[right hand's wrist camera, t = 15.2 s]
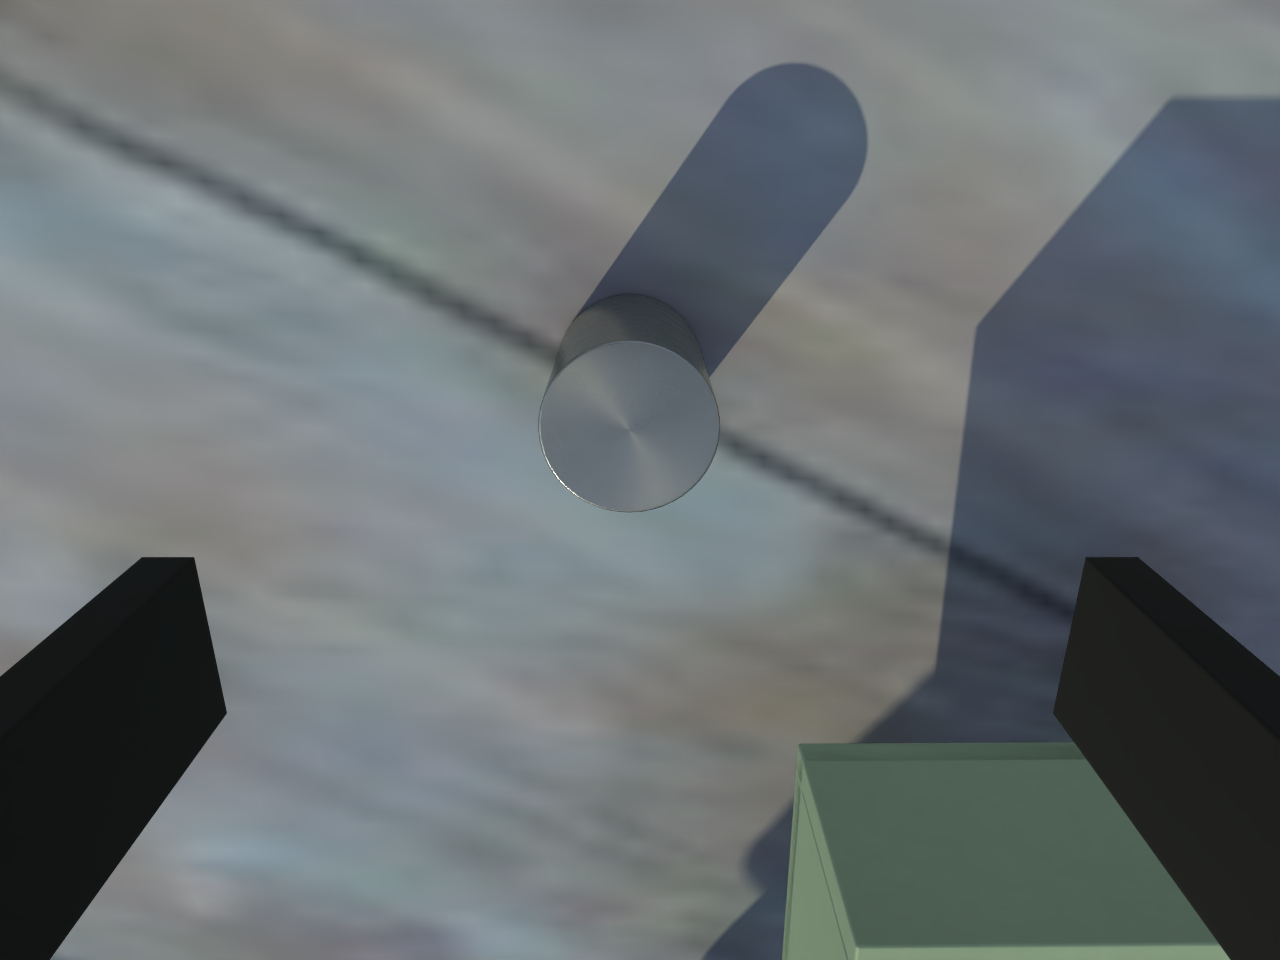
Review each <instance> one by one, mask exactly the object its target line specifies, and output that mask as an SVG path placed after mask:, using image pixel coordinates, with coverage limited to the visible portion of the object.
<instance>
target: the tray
mask: <svg viewBox="0 0 1280 960" xmlns="http://www.w3.org/2000/svg"><path fill="white" fill-rule="evenodd" d="M782 960H1230V959H1229V957H1228V956H1227V954H1226V953H1225V952H1224V950H1223V949H1222V947H1221V946H1220V945H1219V943H1218V942H1217V940H1216V939H1215V938H1214V936H1213V935H1212V933H1211V932H1210V931H1209V929H1208V928H1207V927H1206V925H1205V924H1204V922H1203V921H1202V920H1201V918H1200V917H1199V915H1198V914H1197V913H1196V911H1195V910H1194V908H1193V907H1192V906H1191V904H1190V903H1189V901H1188V900H1187V899H1186V897H1185V896H1184V895H1183V893H1182V892H1181V890H1180V889H1179V888H1178V886H1177V885H1176V883H1175V882H1174V881H1173V879H1172V878H1171V876H1170V875H1169V874H1168V872H1167V871H1166V869H1165V868H1164V867H1163V865H1162V864H1161V863H1160V861H1159V860H1158V858H1157V857H1156V856H1155V854H1154V853H1153V851H1152V850H1151V849H1150V847H1149V846H1148V844H1147V843H1146V842H1145V840H1144V839H1143V837H1142V836H1141V835H1140V833H1139V832H1138V831H1137V829H1136V828H1135V826H1134V825H1133V824H1132V822H1131V821H1130V819H1129V818H1128V817H1127V815H1126V814H1125V812H1124V811H1123V810H1122V808H1121V807H1120V805H1119V804H1118V803H1117V801H1116V800H1115V799H1114V797H1113V796H1112V794H1111V793H1110V792H1109V790H1108V789H1107V787H1106V786H1105V785H1104V783H1103V782H1102V780H1101V779H1100V778H1099V776H1098V775H1097V773H1096V772H1095V771H1094V769H1093V768H1092V767H1091V765H1090V764H1089V762H1088V761H1087V760H1086V758H1085V757H1084V755H1083V754H1082V753H1081V751H1080V750H1079V748H1078V747H1077V746H1076V744H1075V743H1074V742H1022V743H851V744H799V745H798V754H797V767H796V780H795V794H794V807H793V820H792V834H791V847H790V860H789V873H788V887H787V900H786V913H785V927H784V940H783V953H782Z"/></svg>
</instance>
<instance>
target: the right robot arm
mask: <svg viewBox="0 0 1280 960" xmlns="http://www.w3.org/2000/svg"><path fill="white" fill-rule="evenodd" d="M226 714H227V711H226V707H225V702H224V697H223V692H222V688H221V683H220V678H219V673H218V669H217V664H216V659H215V654H214V650H213V645H212V640H211V635H210V631H209V626H208V621H207V616H206V612H205V607H204V602H203V597H202V592H201V588H200V583H199V578H198V573H197V569H196V564H195V559H194V557H142V558H141V559H140V560H138V561H137V562H136V563H135V564H134V565H132V566H131V567H130V568H129V569H128V570H126V571H125V572H124V573H123V574H122V575H121V576H119V577H118V578H117V579H116V580H115V581H113V582H112V583H111V584H110V585H109V586H107V587H106V588H105V589H104V590H103V591H101V592H100V593H99V594H98V595H97V596H96V597H94V598H93V599H92V600H91V601H90V602H88V603H87V604H86V605H85V606H84V607H82V608H81V609H80V610H79V611H78V612H77V613H75V614H74V615H73V616H72V617H71V618H69V619H68V620H67V621H66V622H65V623H63V624H62V625H61V626H60V627H59V628H58V629H56V630H55V631H54V632H53V633H52V634H50V635H49V636H48V637H47V638H46V639H44V640H43V641H42V642H41V643H40V644H39V645H37V646H36V647H35V648H34V649H33V650H31V651H30V652H29V653H28V654H27V655H25V656H24V657H23V658H22V659H21V660H20V661H18V662H17V663H16V664H15V665H14V666H12V667H11V668H10V669H9V670H8V671H6V672H5V673H4V674H3V675H2V676H1V677H0V960H50V959H51V957H52V956H53V954H54V953H55V952H56V950H57V949H58V947H59V946H60V945H61V943H62V942H63V940H64V939H65V938H66V936H67V935H68V933H69V932H70V931H71V929H72V928H73V927H74V925H75V924H76V922H77V921H78V920H79V918H80V917H81V915H82V914H83V913H84V911H85V910H86V908H87V907H88V906H89V904H90V903H91V901H92V900H93V899H94V897H95V896H96V895H97V893H98V892H99V890H100V889H101V888H102V886H103V885H104V883H105V882H106V881H107V879H108V878H109V876H110V875H111V874H112V872H113V871H114V869H115V868H116V867H117V865H118V864H119V863H120V861H121V860H122V858H123V857H124V856H125V854H126V853H127V851H128V850H129V849H130V847H131V846H132V844H133V843H134V842H135V840H136V839H137V837H138V836H139V835H140V833H141V832H142V831H143V829H144V828H145V826H146V825H147V824H148V822H149V821H150V819H151V818H152V817H153V815H154V814H155V812H156V811H157V810H158V808H159V807H160V805H161V804H162V803H163V801H164V800H165V799H166V797H167V796H168V794H169V793H170V792H171V790H172V789H173V787H174V786H175V785H176V783H177V782H178V780H179V779H180V778H181V776H182V775H183V773H184V772H185V771H186V769H187V768H188V767H189V765H190V764H191V762H192V761H193V760H194V758H195V757H196V755H197V754H198V753H199V751H200V750H201V748H202V747H203V746H204V744H205V743H206V741H207V740H208V739H209V737H210V736H211V735H212V733H213V732H214V730H215V729H216V728H217V726H218V725H219V723H220V722H221V721H222V719H223V718H224V716H225V715H226ZM1053 714H1054V715H1055V716H1056V718H1057V719H1058V721H1059V722H1060V723H1061V725H1062V726H1063V728H1064V729H1065V730H1066V732H1067V733H1068V735H1069V736H1070V737H1071V739H1072V740H1073V741H1074V743H1075V744H1076V746H1077V747H1078V748H1079V750H1080V751H1081V753H1082V754H1083V755H1084V757H1085V758H1086V760H1087V761H1088V762H1089V764H1090V765H1091V767H1092V768H1093V769H1094V771H1095V772H1096V773H1097V775H1098V776H1099V778H1100V779H1101V780H1102V782H1103V783H1104V785H1105V786H1106V787H1107V789H1108V790H1109V792H1110V793H1111V794H1112V796H1113V797H1114V799H1115V800H1116V801H1117V803H1118V804H1119V805H1120V807H1121V808H1122V810H1123V811H1124V812H1125V814H1126V815H1127V817H1128V818H1129V819H1130V821H1131V822H1132V824H1133V825H1134V826H1135V828H1136V829H1137V831H1138V832H1139V833H1140V835H1141V836H1142V837H1143V839H1144V840H1145V842H1146V843H1147V844H1148V846H1149V847H1150V849H1151V850H1152V851H1153V853H1154V854H1155V856H1156V857H1157V858H1158V860H1159V861H1160V863H1161V864H1162V865H1163V867H1164V868H1165V869H1166V871H1167V872H1168V874H1169V875H1170V876H1171V878H1172V879H1173V881H1174V882H1175V883H1176V885H1177V886H1178V888H1179V889H1180V890H1181V892H1182V893H1183V895H1184V896H1185V897H1186V899H1187V900H1188V901H1189V903H1190V904H1191V906H1192V907H1193V908H1194V910H1195V911H1196V913H1197V914H1198V915H1199V917H1200V918H1201V920H1202V921H1203V922H1204V924H1205V925H1206V927H1207V928H1208V929H1209V931H1210V932H1211V933H1212V935H1213V936H1214V938H1215V939H1216V940H1217V942H1218V943H1219V945H1220V946H1221V947H1222V949H1223V950H1224V952H1225V953H1226V954H1227V956H1228V957H1229V959H1230V960H1280V677H1279V676H1278V675H1277V674H1276V673H1275V672H1274V671H1272V670H1271V669H1270V668H1269V667H1268V666H1266V665H1265V664H1264V663H1263V662H1262V661H1260V660H1259V659H1258V658H1257V657H1256V656H1255V655H1253V654H1252V653H1251V652H1250V651H1249V650H1247V649H1246V648H1245V647H1244V646H1243V645H1241V644H1240V643H1239V642H1238V641H1237V640H1236V639H1234V638H1233V637H1232V636H1231V635H1230V634H1228V633H1227V632H1226V631H1225V630H1224V629H1222V628H1221V627H1220V626H1219V625H1218V624H1217V623H1215V622H1214V621H1213V620H1212V619H1211V618H1209V617H1208V616H1207V615H1206V614H1205V613H1203V612H1202V611H1201V610H1200V609H1199V608H1198V607H1196V606H1195V605H1194V604H1193V603H1192V602H1190V601H1189V600H1188V599H1187V598H1186V597H1184V596H1183V595H1182V594H1181V593H1180V592H1179V591H1177V590H1176V589H1175V588H1174V587H1173V586H1171V585H1170V584H1169V583H1168V582H1167V581H1165V580H1164V579H1163V578H1162V577H1161V576H1159V575H1158V574H1157V573H1156V572H1155V571H1154V570H1152V569H1151V568H1150V567H1149V566H1148V565H1146V564H1145V563H1144V562H1143V561H1142V560H1140V559H1139V558H1138V557H1086V559H1085V564H1084V569H1083V573H1082V578H1081V583H1080V588H1079V592H1078V597H1077V602H1076V607H1075V612H1074V616H1073V621H1072V626H1071V631H1070V635H1069V640H1068V645H1067V650H1066V654H1065V659H1064V664H1063V669H1062V673H1061V678H1060V683H1059V688H1058V692H1057V697H1056V702H1055V707H1054V711H1053Z"/></svg>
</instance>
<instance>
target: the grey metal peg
mask: <svg viewBox="0 0 1280 960" xmlns="http://www.w3.org/2000/svg"><path fill="white" fill-rule="evenodd" d="M538 431H539V439H540V444H541V448H542V452H543V454H544V457H545V459H546V462H547V463H548V465H549V467H550V469H551V470H552V472H553V473H554V475H555V476H556V477H557V479H558V480H559V481H560V482H561V483H562V484H563V485H564V486H565V487H566V488H567V489H568V490H569V491H570V492H572V493H573V494H574V495H576V496H577V497H579V498H580V499H582V500H584V501H585V502H588V503H590V504H592V505H594V506H597V507H600V508H603V509H607V510H612V511H617V512H641V511H647V510H652V509H655V508H659V507H662V506H664V505H667V504H669V503H671V502H673V501H675V500H677V499H678V498H680V497H682V496H683V495H684V494H686V493H687V492H688V491H689V490H691V489H692V488H693V487H694V486H695V485H696V484H697V483H698V482H699V481H700V479H701V478H702V477H703V475H704V474H705V473H706V471H707V470H708V468H709V466H710V464H711V463H712V460H713V458H714V455H715V453H716V450H717V446H718V442H719V434H720V417H719V411H718V406H717V403H716V400H715V396H714V393H713V390H712V386H711V383H710V380H709V376H708V373H707V370H706V367H705V363H704V360H703V357H702V353H701V350H700V347H699V344H698V341H697V338H696V336H695V334H694V332H693V330H692V329H691V327H690V325H689V324H688V323H687V321H686V320H685V319H684V318H683V317H682V316H681V315H680V314H679V313H678V312H677V311H676V310H674V309H673V308H671V307H670V306H668V305H667V304H665V303H663V302H661V301H659V300H657V299H654V298H651V297H647V296H642V295H632V294H627V295H617V296H613V297H609V298H606V299H603V300H600V301H598V302H596V303H594V304H592V305H591V306H590V307H588V308H587V309H585V310H584V311H583V312H582V313H581V314H579V315H578V316H577V317H576V319H575V320H574V321H573V322H572V323H571V325H570V326H569V328H568V329H567V331H566V333H565V335H564V337H563V340H562V342H561V345H560V349H559V352H558V355H557V358H556V361H555V364H554V367H553V370H552V373H551V376H550V379H549V382H548V385H547V388H546V391H545V394H544V397H543V401H542V404H541V407H540V413H539V425H538Z"/></svg>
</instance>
